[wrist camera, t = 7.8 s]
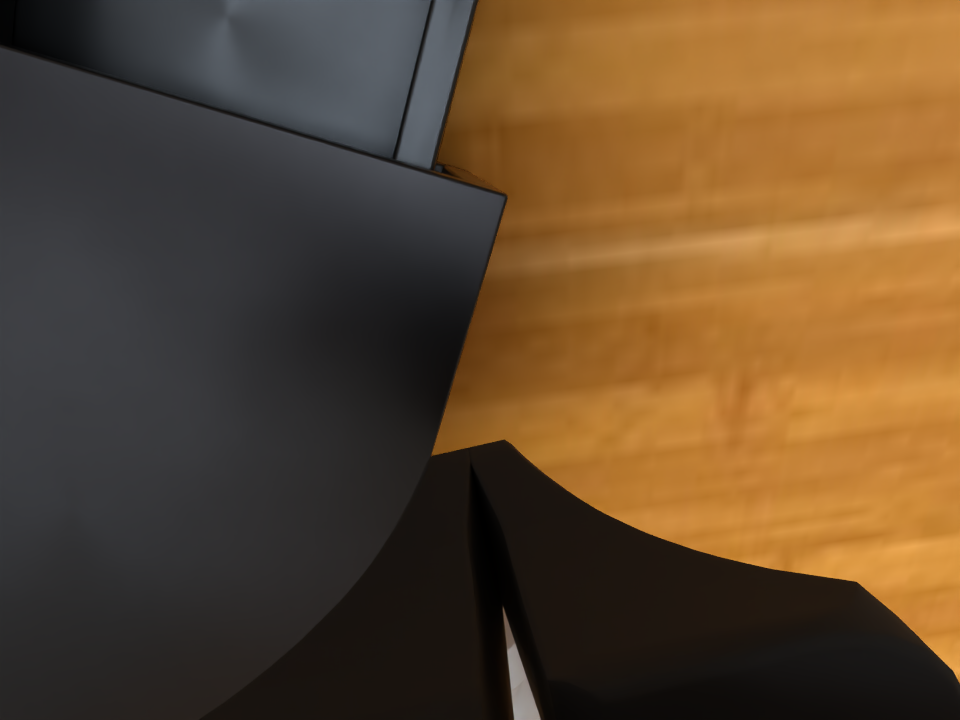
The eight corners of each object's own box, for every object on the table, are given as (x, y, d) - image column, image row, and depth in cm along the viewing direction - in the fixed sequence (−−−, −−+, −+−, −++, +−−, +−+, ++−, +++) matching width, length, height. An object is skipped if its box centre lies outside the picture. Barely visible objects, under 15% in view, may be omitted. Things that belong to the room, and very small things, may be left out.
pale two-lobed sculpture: (515, 719, 26) (389, 755, 24) (548, 546, 24) (410, 569, 22) (572, 822, 23) (430, 874, 21) (619, 631, 20) (461, 668, 18)
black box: (-37, 19, 16) (-348, -60, 9) (470, 171, 18) (509, 194, 12) (-72, 566, 20) (-302, 778, 14) (342, 631, 23) (318, 838, 16)
